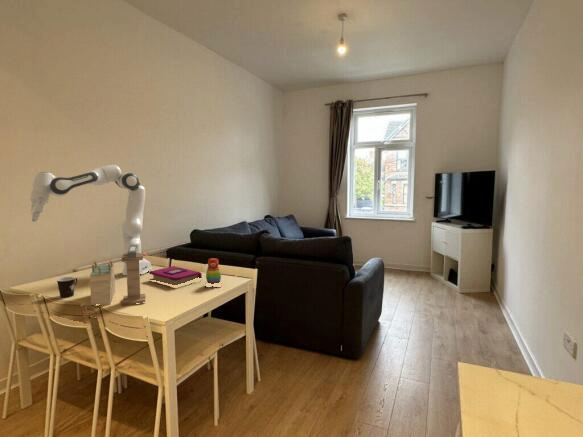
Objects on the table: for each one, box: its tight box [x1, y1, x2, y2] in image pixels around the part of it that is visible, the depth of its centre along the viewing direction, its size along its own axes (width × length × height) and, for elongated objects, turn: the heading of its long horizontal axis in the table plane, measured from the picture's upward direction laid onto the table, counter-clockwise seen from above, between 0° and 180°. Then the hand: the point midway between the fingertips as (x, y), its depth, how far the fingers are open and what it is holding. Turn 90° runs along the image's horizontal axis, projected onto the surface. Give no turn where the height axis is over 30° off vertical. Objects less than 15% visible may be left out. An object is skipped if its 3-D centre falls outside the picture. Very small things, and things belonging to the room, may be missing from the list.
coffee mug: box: [56, 276, 78, 299], centre depth 192 cm, size 12×9×10 cm
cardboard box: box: [89, 260, 116, 306], centre depth 187 cm, size 22×9×20 cm, turn 22°
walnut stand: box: [121, 252, 146, 307], centre depth 183 cm, size 11×11×26 cm
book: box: [148, 265, 203, 285], centre depth 223 cm, size 21×28×8 cm
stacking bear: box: [205, 257, 222, 284], centre depth 214 cm, size 11×10×18 cm
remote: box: [127, 245, 138, 258], centre depth 184 cm, size 22×4×3 cm, turn 22°
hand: (34, 221), depth 198 cm, fingers open, 8 cm apart
